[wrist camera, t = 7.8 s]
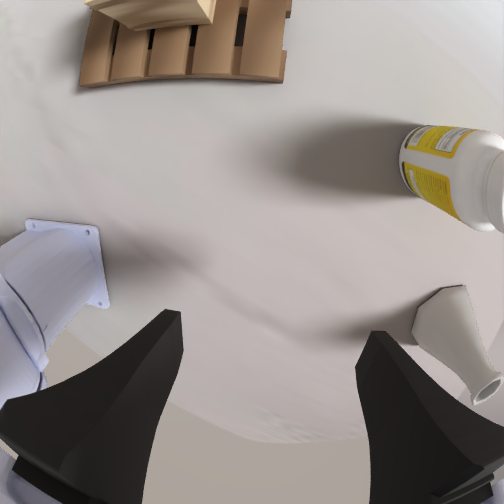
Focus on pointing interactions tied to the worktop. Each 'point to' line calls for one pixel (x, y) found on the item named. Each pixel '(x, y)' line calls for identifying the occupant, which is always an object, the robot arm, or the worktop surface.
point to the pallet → (190, 47)
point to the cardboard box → (156, 12)
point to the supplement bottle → (457, 173)
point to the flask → (457, 340)
